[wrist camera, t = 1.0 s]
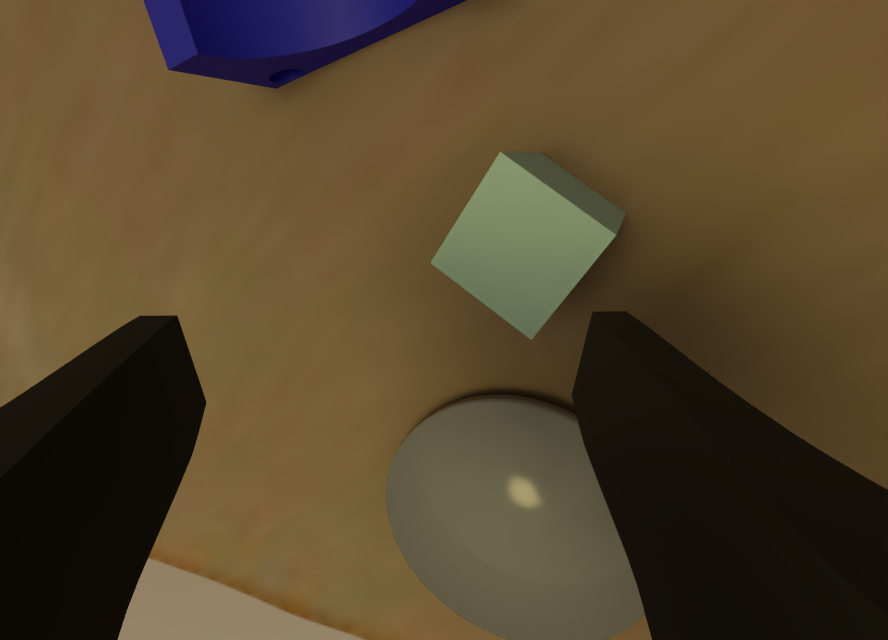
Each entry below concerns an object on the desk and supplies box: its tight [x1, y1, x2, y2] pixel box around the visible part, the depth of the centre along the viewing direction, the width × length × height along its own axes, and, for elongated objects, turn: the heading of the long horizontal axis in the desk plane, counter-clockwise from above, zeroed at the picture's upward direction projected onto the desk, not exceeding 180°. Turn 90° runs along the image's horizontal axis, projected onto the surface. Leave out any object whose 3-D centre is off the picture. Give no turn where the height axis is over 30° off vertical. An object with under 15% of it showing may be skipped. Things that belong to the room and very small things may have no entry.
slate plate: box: [386, 394, 645, 640], centre depth 24 cm, size 13×13×2 cm
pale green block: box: [431, 152, 626, 340], centre depth 18 cm, size 4×4×6 cm
